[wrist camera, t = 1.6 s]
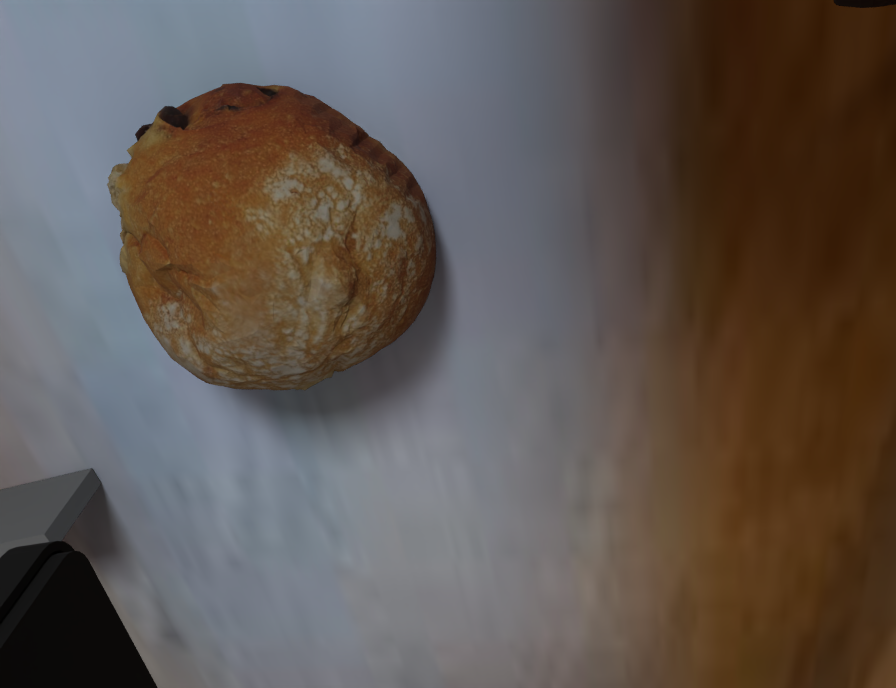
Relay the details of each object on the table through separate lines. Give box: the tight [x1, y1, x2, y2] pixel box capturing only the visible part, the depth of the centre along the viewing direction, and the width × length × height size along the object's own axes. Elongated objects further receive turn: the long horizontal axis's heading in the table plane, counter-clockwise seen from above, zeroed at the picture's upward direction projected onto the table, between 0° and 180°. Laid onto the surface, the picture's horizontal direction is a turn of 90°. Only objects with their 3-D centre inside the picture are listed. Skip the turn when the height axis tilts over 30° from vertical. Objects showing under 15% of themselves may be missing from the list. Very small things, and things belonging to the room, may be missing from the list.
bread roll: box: [107, 83, 436, 390], centre depth 27 cm, size 10×10×8 cm
